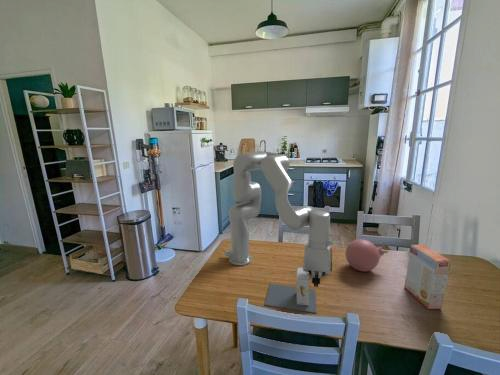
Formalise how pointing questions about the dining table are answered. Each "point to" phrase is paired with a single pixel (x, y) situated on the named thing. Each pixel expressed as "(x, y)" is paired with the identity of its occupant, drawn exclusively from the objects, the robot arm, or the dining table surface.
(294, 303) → the mat
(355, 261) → the pink balloon
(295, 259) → the dining table surface
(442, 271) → the cracker box
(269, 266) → the dining table surface
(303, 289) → the ink box
